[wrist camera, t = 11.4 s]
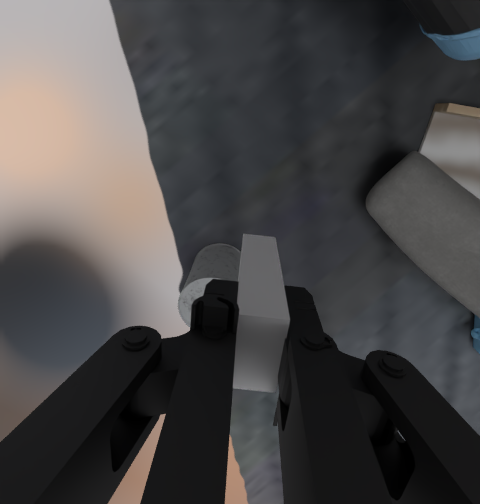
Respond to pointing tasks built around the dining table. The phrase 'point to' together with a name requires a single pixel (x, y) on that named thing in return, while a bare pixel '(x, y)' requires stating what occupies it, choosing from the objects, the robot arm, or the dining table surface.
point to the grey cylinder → (208, 274)
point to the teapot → (476, 334)
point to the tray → (455, 143)
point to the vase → (432, 224)
